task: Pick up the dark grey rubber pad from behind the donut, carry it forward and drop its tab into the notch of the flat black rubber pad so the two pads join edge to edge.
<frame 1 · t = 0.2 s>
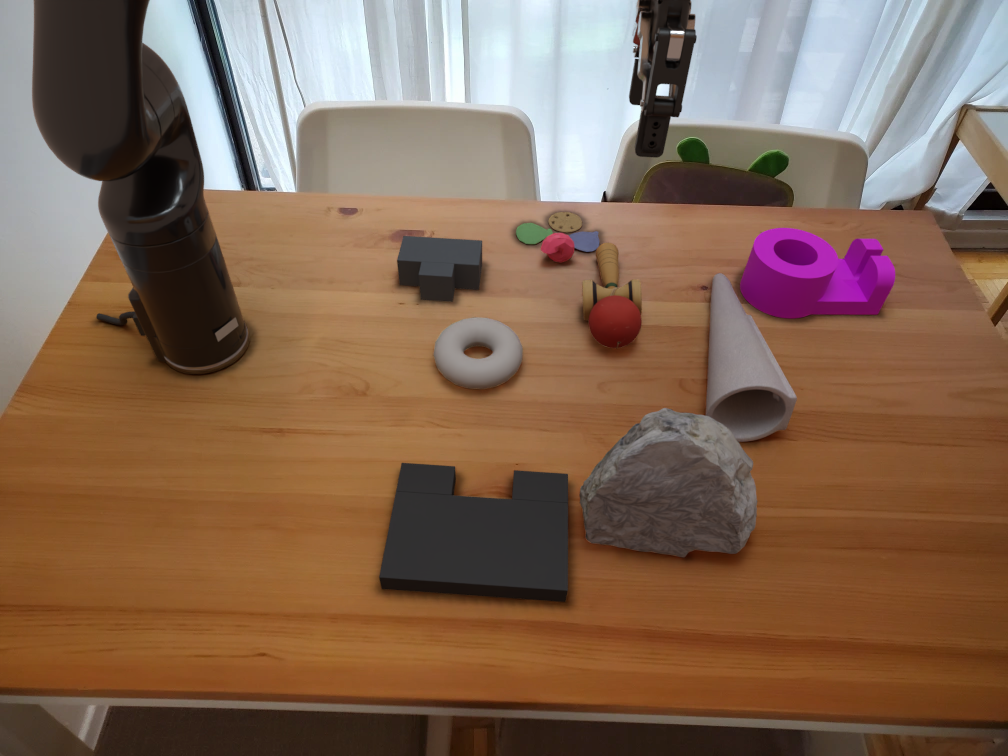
hand: (644, 128, 60), 29 cm above the table, tool pointing down, fingers open, 8 cm apart
decorative rock: (661, 529, 67), on the table
grey hollow cone: (712, 353, 84), on the table
black pad: (479, 534, 66), on the table
toy pieces: (559, 241, 98), on the table
grey pad: (441, 275, 92), on the table
tape dispenser: (802, 293, 91), on the table
donut: (478, 363, 81), on the table
kendama: (607, 307, 89), on the table
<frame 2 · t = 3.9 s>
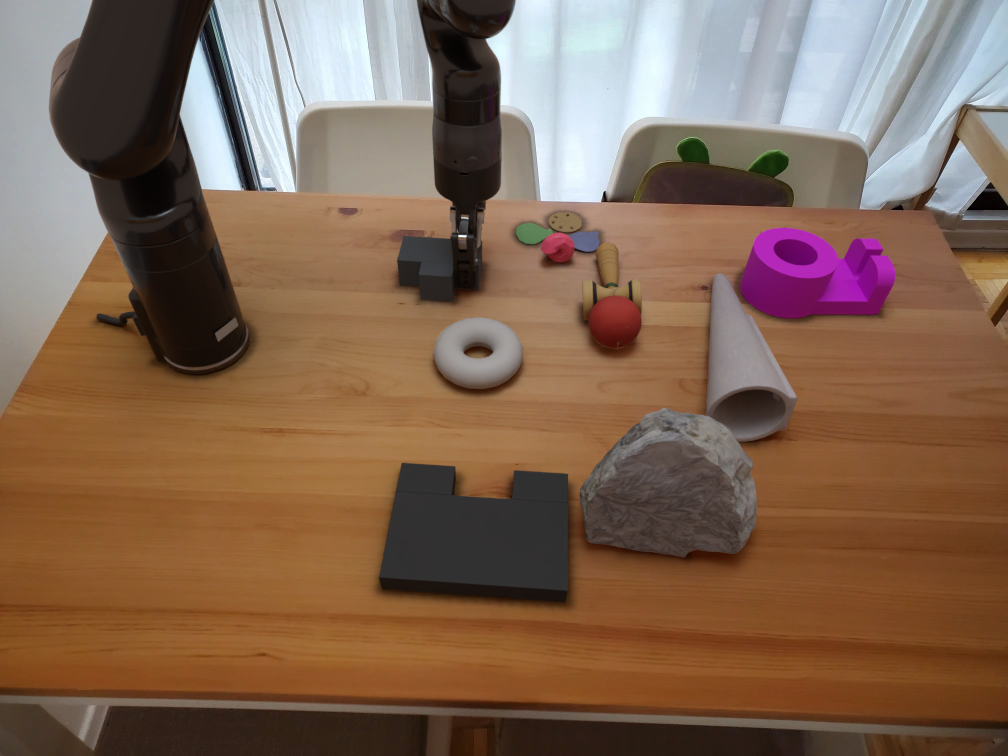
hand: (468, 271, 91), 1 cm above the table, tool pointing down, fingers closed on grey pad, 5 cm apart
grey pad: (441, 275, 92), on the table, touching gripper
everything else where it was.
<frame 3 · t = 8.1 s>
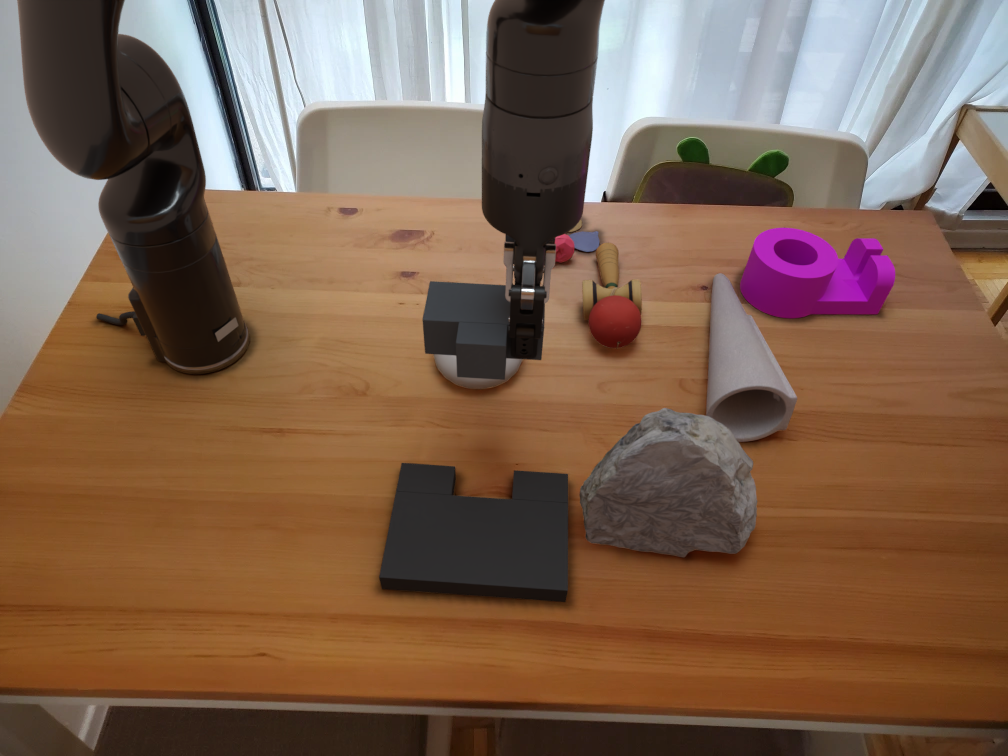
hand: (524, 332, 62), 15 cm above the table, tool pointing down, fingers closed on grey pad, 5 cm apart
grey pad: (485, 337, 63), point 15 cm above the table, touching gripper
everything else where it was.
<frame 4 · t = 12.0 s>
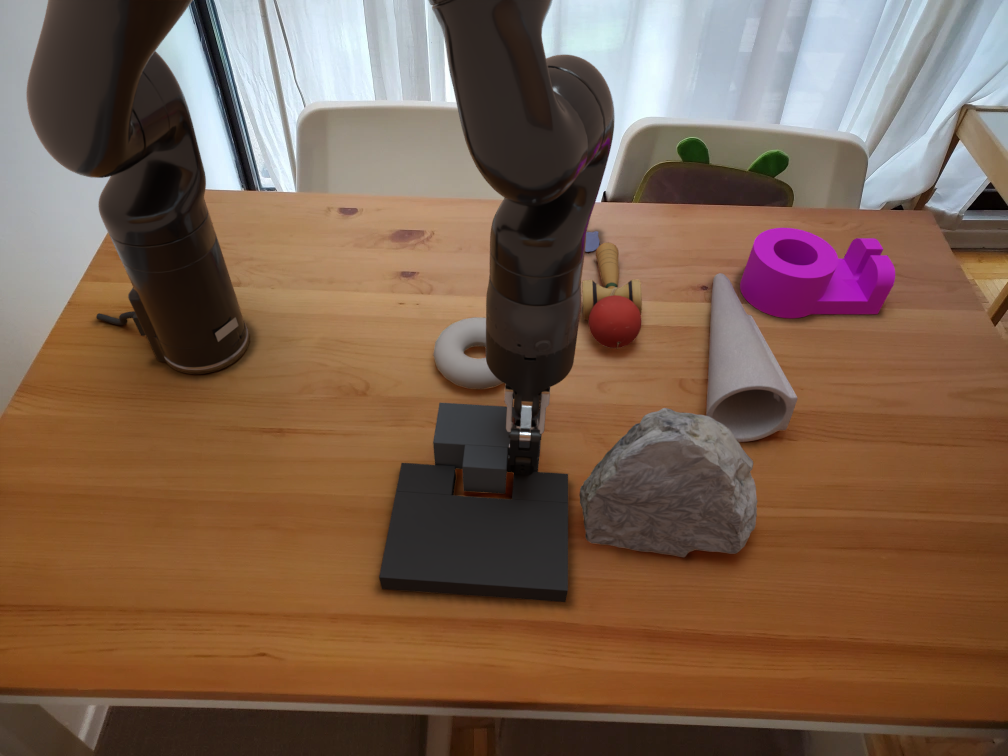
hand: (523, 447, 70), 2 cm above the table, tool pointing down, fingers closed on grey pad, 5 cm apart
grey pad: (488, 450, 71), point 1 cm above the table, touching gripper
everything else where it was.
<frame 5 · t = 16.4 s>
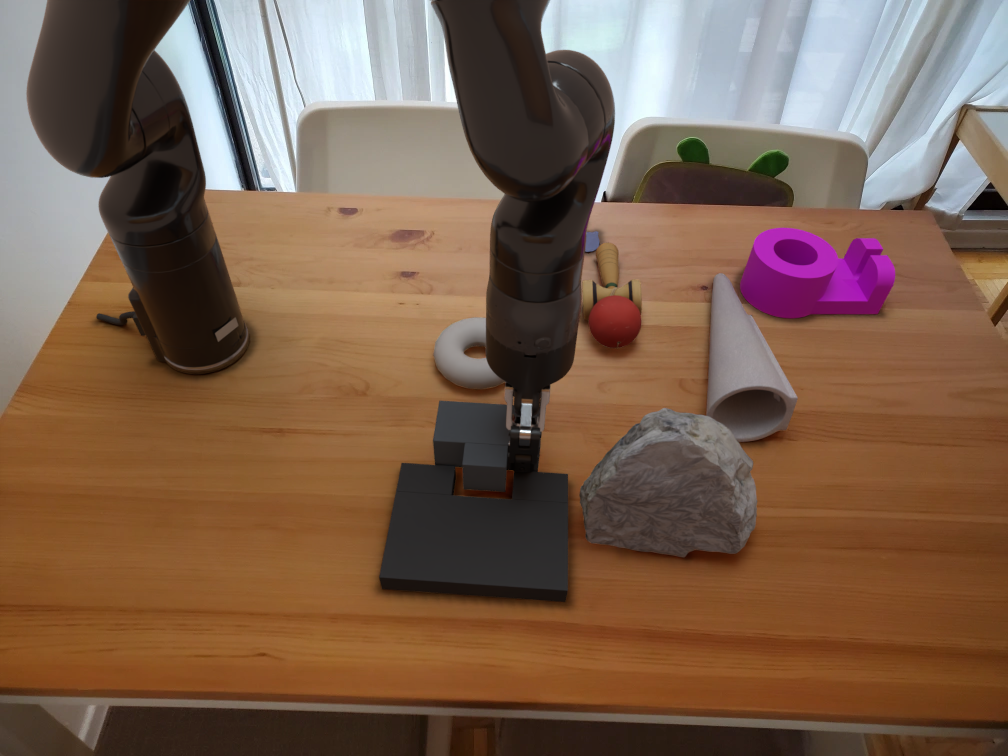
hand: (523, 445, 70), 3 cm above the table, tool pointing down, fingers closed on grey pad, 5 cm apart
grey pad: (488, 448, 71), point 2 cm above the table, touching gripper
everything else where it was.
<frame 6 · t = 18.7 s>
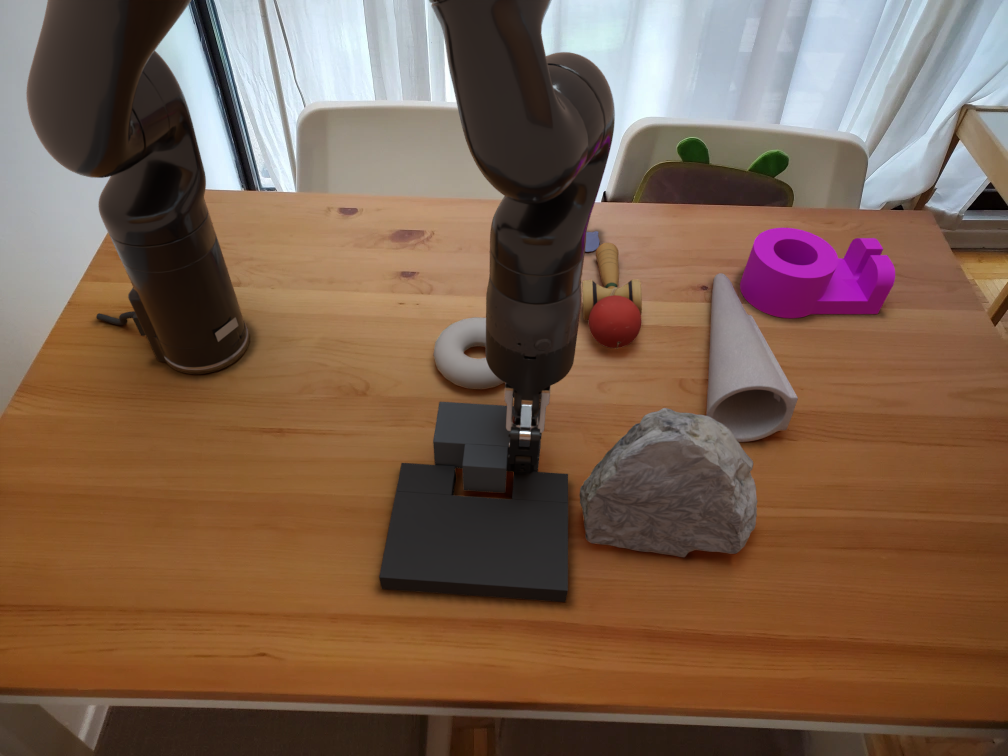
hand: (523, 446, 70), 2 cm above the table, tool pointing down, fingers closed on grey pad, 5 cm apart
grey pad: (488, 449, 71), point 1 cm above the table, touching gripper
everything else where it was.
when the fingers open (3 cm above the table, at t = 20.4 s): grey pad drops 2 cm, on the table.
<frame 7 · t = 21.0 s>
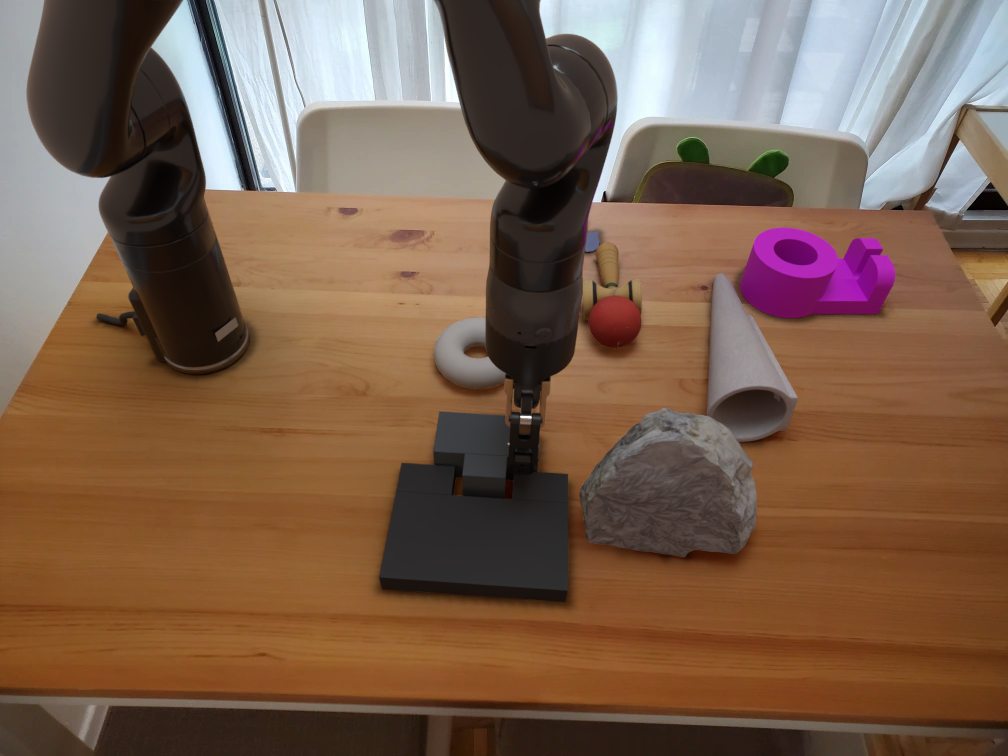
hand: (523, 434, 69), 4 cm above the table, tool pointing down, fingers open, 8 cm apart
grey pad: (487, 458, 72), on the table
everything else where it was.
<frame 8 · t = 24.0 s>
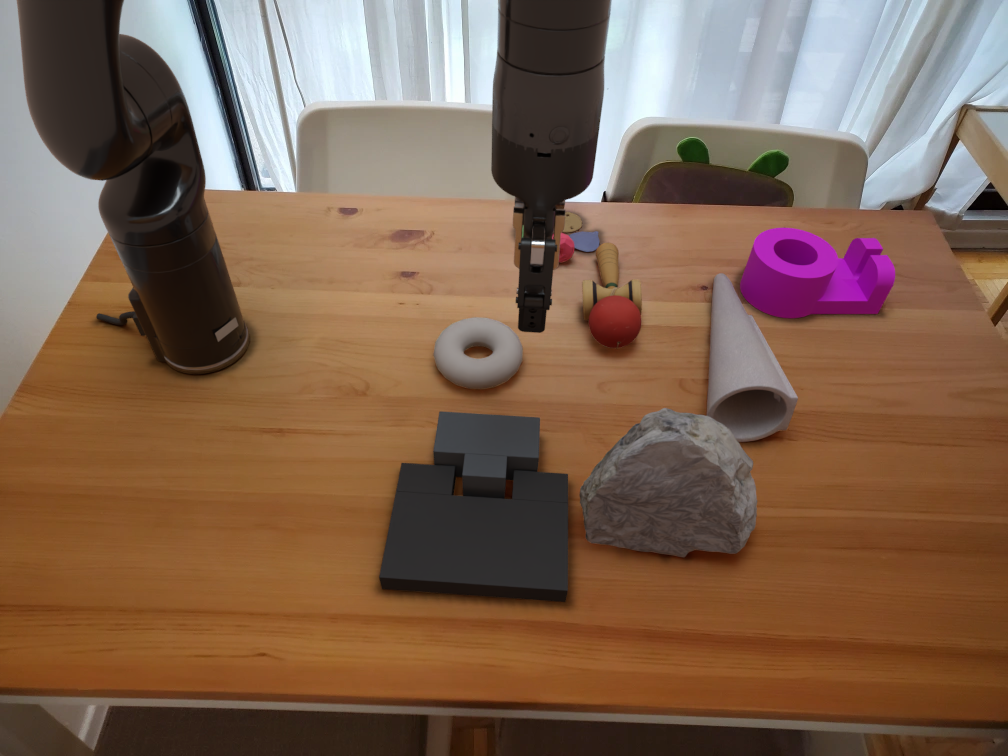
hand: (533, 295, 62), 18 cm above the table, tool pointing down, fingers open, 8 cm apart
nothing on the table moved.
at the end: grey pad 0.1 cm from the target spot on the table beside the black pad, on the table; grey pad tilted 0°; the gripper is holding nothing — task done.
